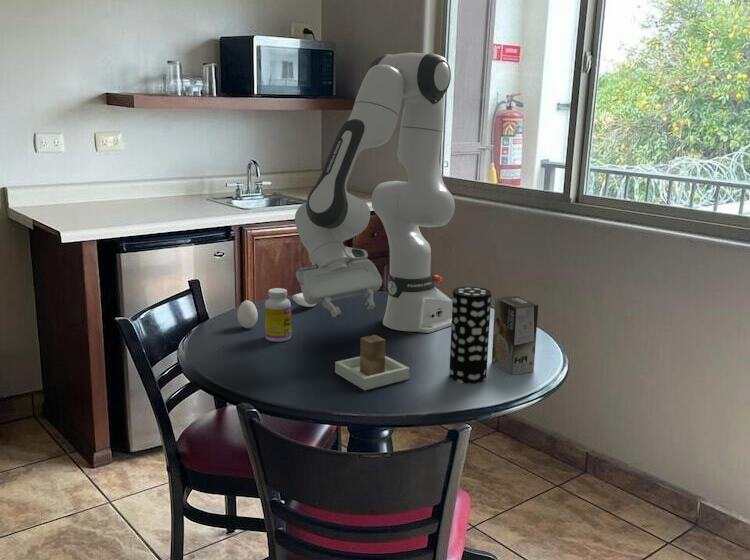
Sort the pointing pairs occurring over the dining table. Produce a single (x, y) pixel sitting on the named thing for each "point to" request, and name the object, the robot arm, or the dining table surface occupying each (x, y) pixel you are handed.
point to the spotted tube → (469, 334)
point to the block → (372, 355)
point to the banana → (301, 300)
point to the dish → (352, 373)
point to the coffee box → (514, 334)
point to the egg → (247, 314)
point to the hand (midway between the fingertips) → (354, 311)
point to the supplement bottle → (277, 316)
